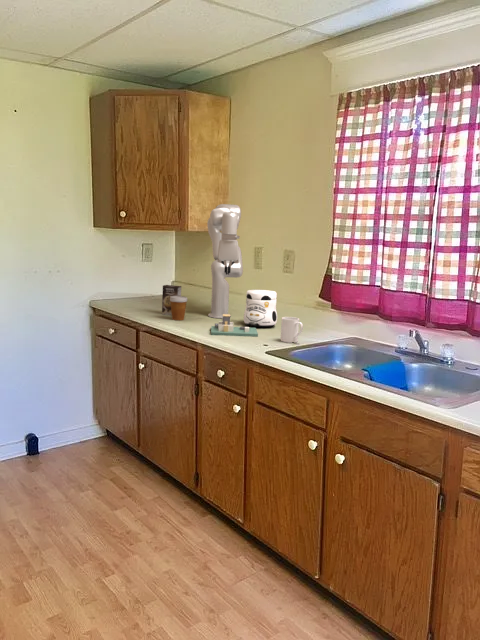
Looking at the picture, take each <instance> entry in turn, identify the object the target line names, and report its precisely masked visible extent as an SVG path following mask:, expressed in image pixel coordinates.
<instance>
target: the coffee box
mask: <svg viewBox="0 0 480 640" xmlns="http://www.w3.org/2000/svg"><path fill="white" fill-rule="evenodd" d="M171 296H182V285H172V284H164V285H162V296H161V297H162V299H161V302H162V303H161V305H162V306H161V315H167V316H172V312H171V302H170V297H171Z"/></svg>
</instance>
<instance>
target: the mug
mask: <svg viewBox="0 0 480 640" xmlns="http://www.w3.org/2000/svg"><path fill="white" fill-rule="evenodd" d="M280 325H281V328H280V341H281V342H283V343H287V344H288V343H289V344H292V342H294V343H298V341H299V336H300V335H301V334H302V332H303V330H304V326H303V325H304V324H303V323H302V322H301V321H300V318H298V317H295V316H294V317H293V316H282V317H281V324H280ZM299 326H300V327H299Z"/></svg>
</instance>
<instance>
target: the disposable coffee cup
mask: <svg viewBox="0 0 480 640" xmlns="http://www.w3.org/2000/svg"><path fill="white" fill-rule="evenodd" d="M170 302H171V312H172V315H171V320H173V321H184V320H185V315H186V309H187V303H188V297H187V296H183V295H181V296H171V297H170Z"/></svg>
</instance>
